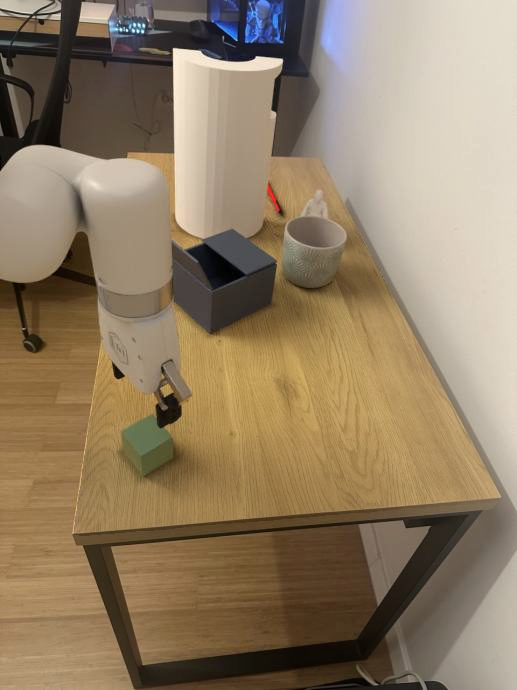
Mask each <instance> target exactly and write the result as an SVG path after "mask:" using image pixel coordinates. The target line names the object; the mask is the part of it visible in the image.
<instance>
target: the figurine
mask: <svg viewBox="0 0 517 690" xmlns="http://www.w3.org/2000/svg"><path fill="white" fill-rule="evenodd" d="M307 215H311V216H320V217H324V218H327V219H329V209H328V204H327V202H326V201H325V200H324V192H323V190H322V189H320V188H319V189H316V191H315V192H314V195H313V198H310V199H308V200H307V202H306V203H305V204H304V206H303V207H302V210H301V212H300V214H299V216H307Z"/></svg>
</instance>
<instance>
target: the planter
mask: <svg viewBox="0 0 517 690" xmlns="http://www.w3.org/2000/svg"><path fill="white" fill-rule="evenodd" d="M347 241H348V233H347V231H346V230H345V228H344V227H343V226H342V225H340V224H339V223H338V222H336V221H334V220H333V219H330V218H328V219H327V218H324V217H323V216H321V217H320V216H311V215H308V214H306V216H300V215H299V216H296V217H293V218H291V219H290V220H288V221H287V223H285V226H284V234H283V243H282V249H281V251H282V252H281V270H282V273H283V275H284V276H285V278H286V279H287V280H288V281H289V282H291V283H292V284H294V285H295V286H298V287H301V288H306V289H318V288H322V287H325V286H327V285H328V284H330V283H331V282H332V281H333V279H334V278H335V276H336V274H337V272H338V269H339V267H340V264H341V262H342V261H341V260H342V257H343V254H344V250H345V247H346V244H347Z"/></svg>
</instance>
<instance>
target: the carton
mask: <svg viewBox="0 0 517 690" xmlns="http://www.w3.org/2000/svg"><path fill="white" fill-rule="evenodd" d="M183 249H184V250H185V251H186V252H188V253H189V254H190V255H191V256H192V257H194V258H195V259H196V260H197V261H198V262H199V263H200V265H201V267H202V269H203V271H204V273H205V275H206V277H207V279H208V281H209V283H210V284H211V286H212V288H213V289H212V290H210V289H209V288H208V287H207V286H205V285H204V284H203V283H202V282H201V281H199V280H198V279H197V278H196V277H195V276H194V275H192V274H191V273H190V272H189V271H188V270H186V269H185V268H184V267H183V266H182V265H180V264H179V263H178V262H177V261H176V260H175V259H173V258H172V267H173V291H174V300H173V303H175V304H176V305H177V306H178V307H180V308H181V310H183V311H184V312H185V313H186V314H187V315H188V316H189V317H190V318H191V319H193V320H194V321H195V322H196V323H197V324H198V325H199V326H200V327H201V328H202V329H203V330H205V331H206V332H207V333H208V334H209V335H211V334H214V333H216V332H218V331H220V330H222V329H224V328H226V327H228V326H230V325H232V324H234V323H237V322H238V321H240V320H242V319H244V318H246V317H249V316H250V315H252V314H254V313H256V312H258V311H261V310H263V309H265V308H267V307H268V306H271V305H272V302H273V301H272V300H273V295H274V294H273V293H274V287H275V280H276V274H277V268H278V264H277V263H278V260H277V259H276V258H274V257H273V256H272V255H270V254H269V253H268V252H266V251H265V250H264V249H262V248H261V247H259V246H258V245H256V244H255V243H254V242H253V241H251V240H250V239H248V238H245V237H244V236H242V235H241V234H239V233H238V232H237V231H235V230H234V229H230V230H227V231H224V232H221V233H219V234H216V235H213V236H210V237H208V238H205V239H203V238H201V243H197V244H196V245H193V246H189V247H188V248H183Z"/></svg>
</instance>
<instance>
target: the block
mask: <svg viewBox="0 0 517 690" xmlns="http://www.w3.org/2000/svg"><path fill="white" fill-rule="evenodd" d="M120 436H121V442H122V447H123V448H122V449H123V453H124V455H125V456H126V457H127V458H128V460H129V461H130V463H131V464H132V465H133V466H134V467H135V469H136V470H137V472H139V474H140V476H141V477H145V476H147V475H148V474H150V473H152V472H153V471H154V470H156V469H158V468H159V467H161V466H162V465H165V464H166V463H168V462H169V461H170V460H172V459H174V437H173V435H171V433H170V432H169V431H168V430H167V428H166V427H163V428H159V427H158V426H157V419H156V415H154V413H151V414H149V415H147V416H145V417H143V418H142V419H140V420H139V421H136V422H135V423H133V424H130V425H129V426H128V427H126V428H123V429H122V430H120Z"/></svg>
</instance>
